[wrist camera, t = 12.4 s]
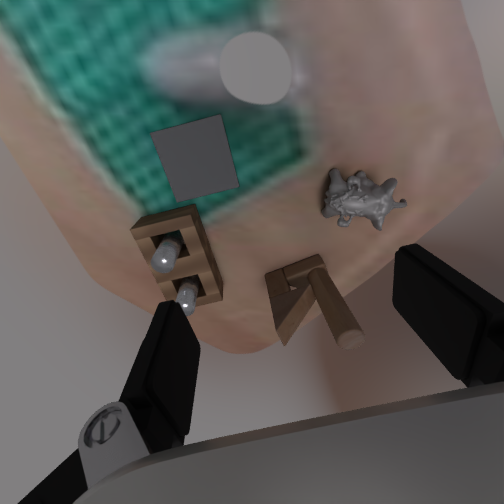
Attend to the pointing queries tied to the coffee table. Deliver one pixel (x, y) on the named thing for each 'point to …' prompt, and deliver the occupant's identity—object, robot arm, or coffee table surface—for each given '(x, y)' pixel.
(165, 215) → the hole block
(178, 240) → the peg
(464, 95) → the coffee table surface
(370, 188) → the gray elephant figurine
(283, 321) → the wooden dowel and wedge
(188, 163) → the mat
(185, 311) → the seated peg
